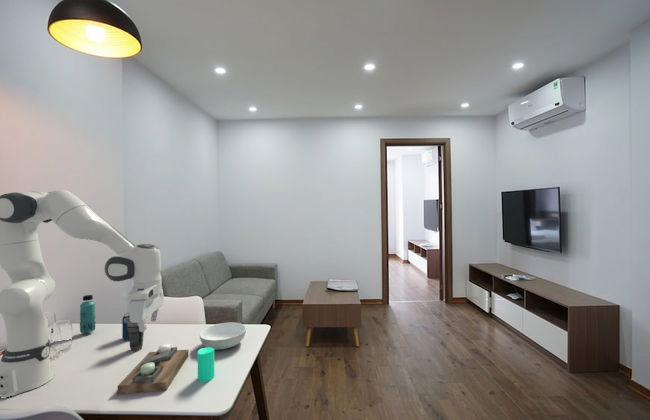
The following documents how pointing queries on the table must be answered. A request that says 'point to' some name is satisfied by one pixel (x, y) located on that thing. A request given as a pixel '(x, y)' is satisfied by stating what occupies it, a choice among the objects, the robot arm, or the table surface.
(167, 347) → the button offwhite
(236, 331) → the serving bowl
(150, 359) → the flat grey strip
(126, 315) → the soda can
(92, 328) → the beverage bottle
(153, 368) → the button sage
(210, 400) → the table surface
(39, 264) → the robot arm
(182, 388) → the table surface
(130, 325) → the beverage cup
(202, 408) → the table surface
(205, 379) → the candle
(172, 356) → the switch panel
